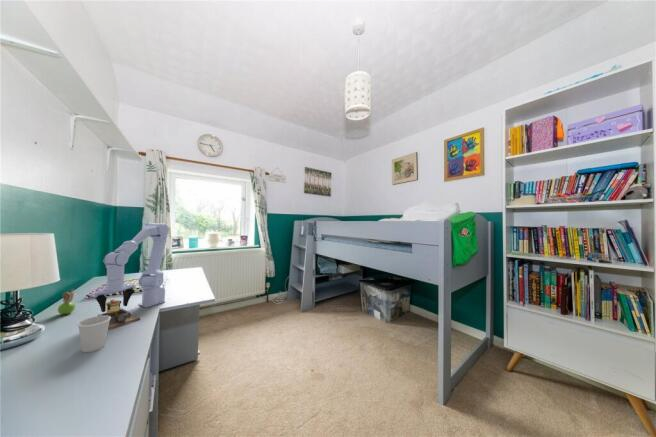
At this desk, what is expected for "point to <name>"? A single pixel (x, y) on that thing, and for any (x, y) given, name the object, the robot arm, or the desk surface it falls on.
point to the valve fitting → (113, 308)
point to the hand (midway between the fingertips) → (114, 308)
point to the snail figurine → (67, 303)
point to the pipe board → (128, 320)
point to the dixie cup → (93, 332)
